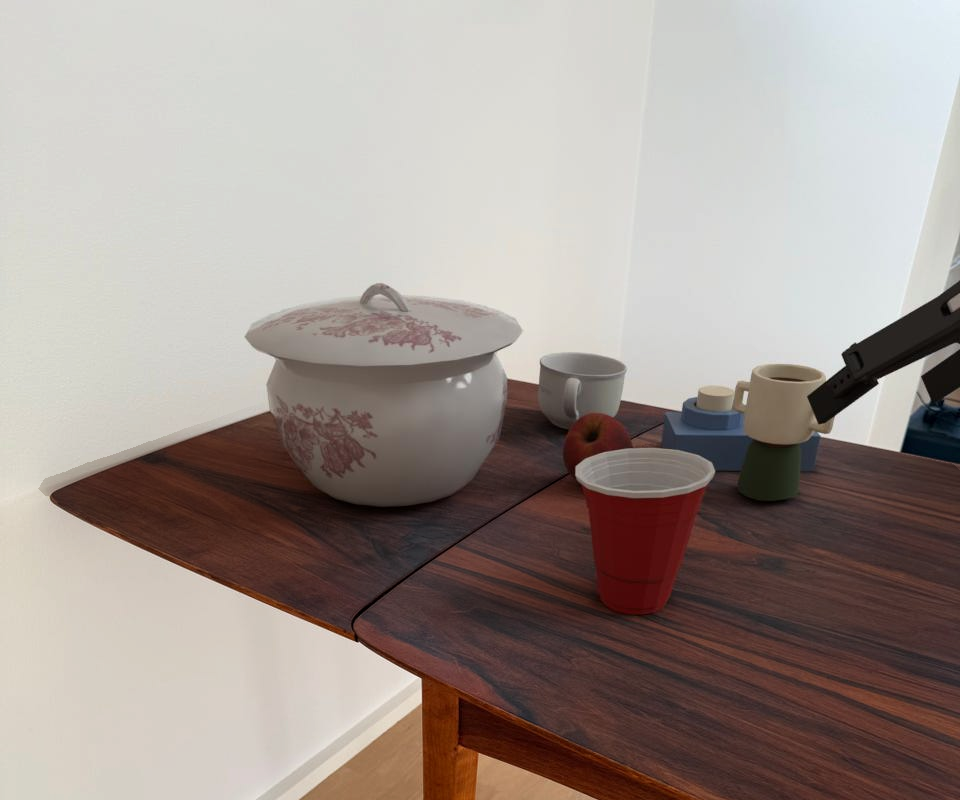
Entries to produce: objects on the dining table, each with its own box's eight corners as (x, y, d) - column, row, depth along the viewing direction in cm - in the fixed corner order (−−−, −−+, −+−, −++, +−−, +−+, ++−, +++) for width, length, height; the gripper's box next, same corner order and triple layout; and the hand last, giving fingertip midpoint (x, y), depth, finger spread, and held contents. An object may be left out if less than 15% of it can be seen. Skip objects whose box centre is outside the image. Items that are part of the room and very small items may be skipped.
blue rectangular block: (793, 445, 106) (802, 396, 103) (813, 471, 99) (824, 419, 96) (660, 444, 107) (666, 395, 104) (671, 470, 100) (677, 418, 96)
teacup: (555, 406, 119) (558, 346, 115) (632, 417, 115) (638, 355, 111) (513, 437, 109) (515, 372, 105) (596, 451, 105) (601, 384, 101)
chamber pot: (506, 545, 83) (510, 318, 72) (228, 529, 86) (191, 309, 75) (528, 444, 107) (534, 261, 96) (309, 434, 110) (290, 256, 99)
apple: (546, 485, 96) (548, 413, 92) (589, 466, 101) (594, 397, 96) (600, 504, 91) (606, 430, 87) (643, 483, 96) (651, 412, 92)
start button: (727, 403, 102) (730, 385, 101) (735, 414, 99) (738, 395, 98) (693, 402, 102) (695, 385, 101) (699, 413, 99) (702, 395, 98)
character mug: (829, 500, 92) (858, 376, 85) (797, 520, 88) (824, 391, 81) (737, 473, 99) (757, 355, 92) (703, 491, 95) (721, 369, 88)
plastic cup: (610, 557, 81) (621, 431, 75) (717, 593, 76) (739, 459, 69) (541, 602, 74) (547, 467, 68) (654, 645, 68) (671, 502, 62)
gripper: (993, 306, 54) (780, 459, 73) (1236, 271, 63) (988, 416, 82) (945, 200, 55) (748, 379, 74) (1190, 181, 64) (957, 345, 83)
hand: (873, 399), depth 78 cm, fingers open, 13 cm apart
